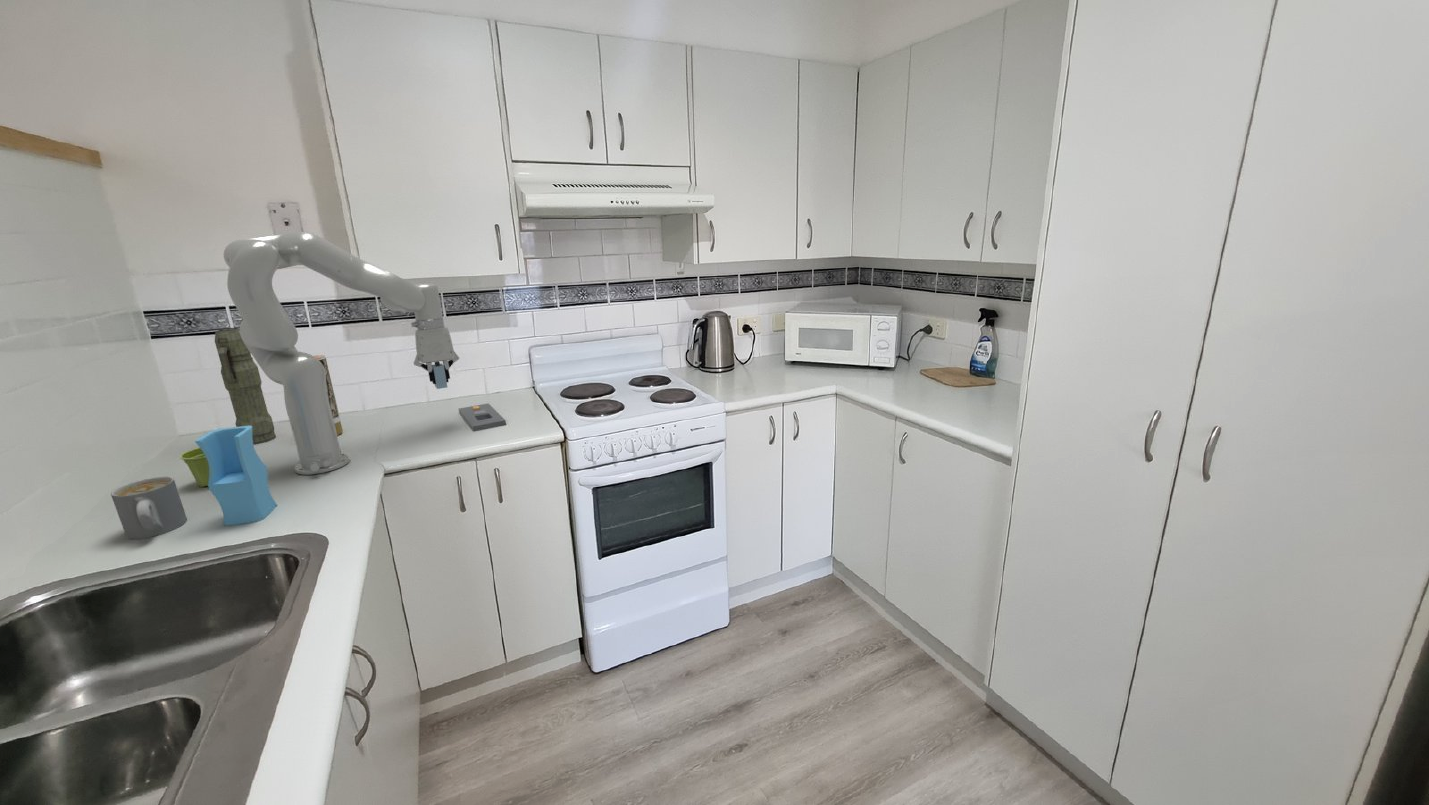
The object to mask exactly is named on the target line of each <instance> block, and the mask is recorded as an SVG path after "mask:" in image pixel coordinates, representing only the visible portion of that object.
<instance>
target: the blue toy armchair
mask: <svg viewBox="0 0 1429 805" xmlns="http://www.w3.org/2000/svg"><path fill="white" fill-rule="evenodd" d="M194 442H195V443H196V445H197V446H198V448H200V449H201V450H202V451H203V453H204V454H205V456H206V458H207V460H208V463H209V482H208V486H207V487H208V489H209V491H210V492H211V494H212V495H213V496H214V497H215V499H216V500H217V502H218V504H219V506H220V508H221V511H222V515H223V525H224V526H233V525H234V526H235V525H236V526H237V525H242V524H247V523H249V524H250V523H256V522H259V521H262V520H265V519H266V518H267V517H268V516H269V515H270V514H271V512H273V510H274V509H275V508H276V507H277V506H278V504H277V502H276V501H275V500H274V498H273V496H272V494H271V492H270V487H269V481H268V471H269V470H268V467H267V465H266V464H265V462H264V461H262V459H261V458H260V457H259V454H258V453H257V451H256V449H255V446H254V445H255V444H254V445H253V439H252V426H241V427H236V426H233V427H224V428H217V429H213V430H211V431H209V432H207V433H205V434H204V435H202V436H200V437H199V438H197V439H195V440H194Z"/></svg>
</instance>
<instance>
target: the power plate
mask: <svg viewBox="0 0 1429 805" xmlns="http://www.w3.org/2000/svg"><path fill="white" fill-rule="evenodd" d="M458 414H460V416H461V417H462V419H463V420H464V422H466V424H467V425H468V426H469V427H470V429H471V430H472V431H473V432H477V431H482V430H488V429H493V428H498V427H501V426H506V425H507V422H506V419H505V418H504V417H503V416H502V415H501V414H500V413H499V412H498V411H497V410H496V409H495V408H494V407H493V406H492V405H491V404H490V403H483V404H479V405H478V404H477V405H470V406H465V407H461V408H458Z"/></svg>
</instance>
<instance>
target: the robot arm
mask: <svg viewBox="0 0 1429 805" xmlns="http://www.w3.org/2000/svg"><path fill="white" fill-rule="evenodd" d="M224 248H225V249H224V251H223V259H224V262H225V264H226V265H227V267H229V270H228V273H227V282H226V285H227V291H228V295H229V296H230V298H231V301H232V303H233V304H234V306H235V308H236V309H237V311H238V313H239V315H240V316H241V318H242V321H241V322H240V325H239V329H240V335H241V338H242V340H243V342H244V343H245V345H246V347H247V348H248V350H249V351H250V353H251V357H252V358H253V360H255V362H256V363H257V365H258V366H259V367H260V369H261V370H262V371H263V373H264V374H265V376H266V377H268V378H269V380H271V381H272V382H274V383H277V384H279V385H282V387H283V396H284V397H283V398H284V399H283V400H284V405H285V410H286V413H287V417H288V420H289V424H290V428H291V431H292V436H293V439H294V443H295V444H294V445H295V447H296V451H297V454H298V459H299V462H298V463H297V464H295V466H294V470H295V473H296V474H299V475H303V476H304V475H306V476H308V475H309V476H310V475H317V474H323V473H327V472H332V471H335V470H337V469H339V468H342V467H344V466H346V465H348V464H349V462H350V456H349V455H348V454H346V453H342V450H341V449H342V448H341V446H340V442H339V438H338V435H337V433H336V428H335V424H334V420H333V416H332V411H331V408H330V404H329V399H328V394H327V387H326V373H325V369H324V367H323V365H322V363H321V362H320V361H319V360H318V359H317V358H316V357H314V356H315V355H312V354H309V353H306V352H302V351H298V349H297V348H296V346H295V345H296V344H297V342H298V340H299V339H298V338H299V333H298V330H297V327H296V326H295V325H294V323H293V321H292V320H291V318H290V317H289V315H288V313H287V312H286V310H285V309H284V307H283V306H282V303H281V302H280V301H279V298H278V296H277V295H276V293H275V291H274V287H273V277H274V275H275V273H276V271H277V270H281V269H285V268H286V269H287V268H291V267H295V266H304V267H306V268H308V269H310V270H312V271H314V272H316V273H318V274H320V275H322V276H323V277H326V278H327V279H330V280H332V281H334V282H336V283H338V284H339V285H341V286H343V287H346V288H349V289H351V290H355V291H360V292H363V293H367V294H371V295H373V296H377V297H380V298H379V299H380V302H381V303H382V305H383V307H385V308H386V309H388V310H391V311H394V312H403V313H414V316H415V320H414V321H413V322H411V325H410V326H411V328H416V330H415V337H414V338H415V350H416V355H415V358H414V361H413V365H414V366H416V367H419V368H422V369H424V370H425V371H427V372H428V377H429V382H430V383H432V384H433V385H435V384H436V381H435V375H434V372H433V369H432V365H433V363H435V362H442V364H443V365H444V370H445V375H446V381H447V383H449V380H450V379H451V377H450V371H449V370H450V368H451V367H452V366H453V365H454V363H456V362H457V361H459V360H460V357H459V355H458V354H457V353H456V351H455V350H454V346H453V342H452V338H451V334H450V330H449V328H448V327H447V326H445V321H444V317H443V316H444V315H443V310H442V304H441V298H440V293H439V292H440V291H439V288H438V285H436V284H435V283H431V282H427V283H426V282H425V283H423V282H422V283H416V284H413V283H411V282H409V281H407V280H406V279H403V278H402V277H400V276H398V275H396V274H395V273H392V272H390V271H387V270H385V269H383V268H381V267H378V266H376V265H374V264H372V263H370V262H367V261H365V260H363V259H361V258H359V257H358V256H355V255H354V254H352V253H349V251H346V250H345V249H343V248H341V247H340V246H337V245H336V244H334V243H332V242H331V241H329V240H327V239H324V238H323V237H321V236H319V235H317V234H315V233H312V232H310V231H292V232H291V231H290V232H285V233H280V234H274V235H267V236H260V237H251V238H244V239H238V240H237V239H236V240H234V241H232V242H230V243H228V244H227V245H226V246H225V247H224Z"/></svg>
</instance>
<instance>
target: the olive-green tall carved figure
mask: <svg viewBox="0 0 1429 805" xmlns="http://www.w3.org/2000/svg"><path fill="white" fill-rule="evenodd" d="M214 344H215V347H216V351H217V355H218V358H219V361H220V365H221V369H220V374H221V377H222V381H223V384H224V388H225V390H226V391H227V393H228V394H229V398H230V401H231V405H232V408H233V412H234V415H235V427H241V426H252V439H253V445H259V444H264V443H267V442H270V441H272V440H275V439H276V437H277V436H276V433H275V425H274V422H273V418H272V416H271V414H270V413H269V411H268V408H267V404H266V400H265V396H264V394H263V389H262V382H263V381H262V379H261V375H260V371H259V367H258V364H256V363H255V362H256V361H254V357H253V356H252V354H251V353H250V351H249V350H248V348H247V347H246V345H245V343H244V342H243V340H242V338H241V335H240V328H239V327H227V328H226V327H225V328H220V329H218V330H217V331H215V333H214Z"/></svg>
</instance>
